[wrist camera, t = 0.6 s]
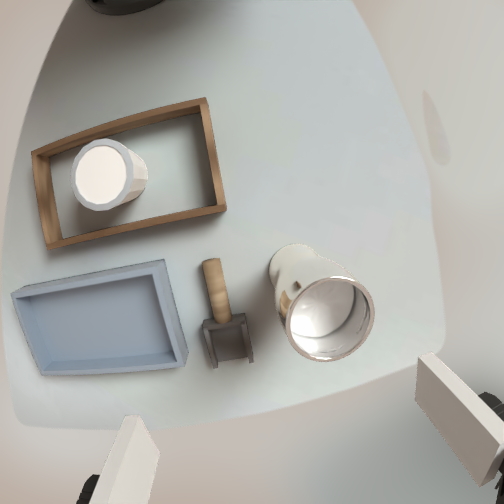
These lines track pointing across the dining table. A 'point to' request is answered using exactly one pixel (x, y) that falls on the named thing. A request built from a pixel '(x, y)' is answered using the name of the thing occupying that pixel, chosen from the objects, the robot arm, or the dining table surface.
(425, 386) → the robot arm
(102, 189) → the white faceted cup
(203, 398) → the dining table surface
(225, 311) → the hand scoop
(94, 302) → the bin
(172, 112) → the walnut frame
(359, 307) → the silver metal tumbler
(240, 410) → the dining table surface
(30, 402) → the dining table surface
